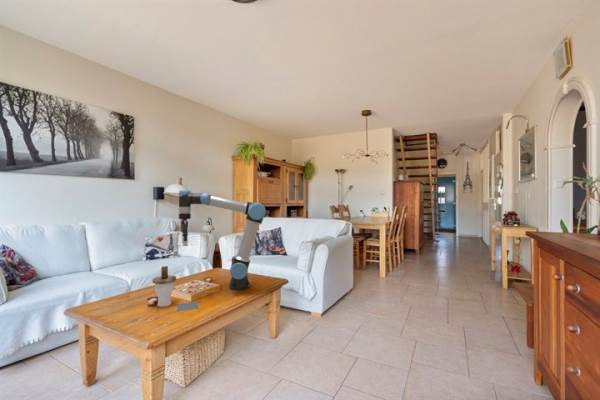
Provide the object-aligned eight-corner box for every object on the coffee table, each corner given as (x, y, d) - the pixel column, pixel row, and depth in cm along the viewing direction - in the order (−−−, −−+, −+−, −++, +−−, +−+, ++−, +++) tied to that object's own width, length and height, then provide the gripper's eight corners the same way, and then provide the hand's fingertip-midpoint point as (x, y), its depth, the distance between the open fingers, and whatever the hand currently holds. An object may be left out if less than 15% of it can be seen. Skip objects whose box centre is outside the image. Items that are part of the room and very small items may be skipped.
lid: (176, 277, 181) (176, 263, 181) (176, 282, 170) (176, 268, 170) (153, 279, 176) (153, 265, 176) (151, 285, 164) (151, 270, 164)
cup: (166, 309, 167) (166, 283, 167) (150, 307, 169) (150, 282, 169) (177, 302, 177) (177, 279, 177) (162, 301, 179) (162, 277, 179)
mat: (197, 302, 178) (197, 301, 178) (199, 309, 167) (199, 308, 167) (176, 305, 173) (176, 304, 173) (177, 312, 162) (177, 311, 162)
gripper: (178, 212, 201) (178, 242, 201) (179, 214, 178) (179, 247, 178) (189, 212, 204) (189, 241, 204) (192, 213, 181) (192, 246, 181)
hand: (184, 244), depth 191 cm, fingers open, 13 cm apart
